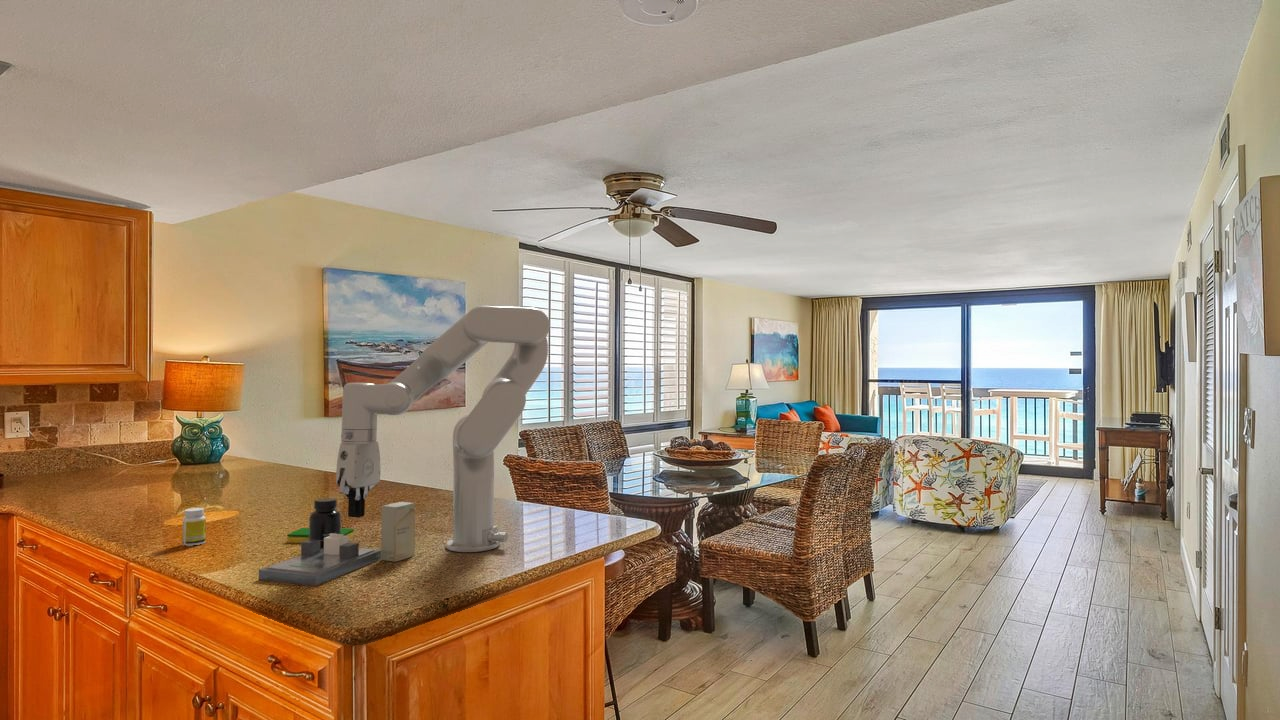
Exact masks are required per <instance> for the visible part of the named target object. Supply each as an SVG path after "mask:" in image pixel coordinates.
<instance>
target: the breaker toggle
mask: <svg viewBox="0 0 1280 720" xmlns="http://www.w3.org/2000/svg"><path fill="white" fill-rule="evenodd" d="M349 542H350V539H349V536H343V534H332V533H331V534H329V536H328V537H325V538H324V554H328V555H340V545H343V544H346V543H349Z"/></svg>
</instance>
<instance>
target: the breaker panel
mask: <svg viewBox="0 0 1280 720" xmlns="http://www.w3.org/2000/svg"><path fill="white" fill-rule="evenodd" d="M359 546H360V545H359V542H350V541H349V543H346V544H343V545H340V555H328V554H324V548H321V549H320V540H318V539H310V540H307V541H303V542H301V543H300V548H301V549H300V555H298V556H295V557H293V558H290V559H289V558H288V559H287V560H283V561H281V562H278V563H275V564H272V565H269V566H266V567H262V568H260V569H258V580H259V579H261V580H260V581H266V580H267V582H275V581H277V583H284V584H296V585H303V586H313V587H317V586H319V585H321V584H323V583H326V582H328V581H332V580H335V579H337V578H338V577H341V576H343V575H345V574H348V573H351V572H353V571H356V570H358V569H360V568H363V567H366V566H369V565H371V564H372V563H375V562H377V561H380V560H381V549H375V548H374V549H371V548H363V547H362V548H360V547H359Z"/></svg>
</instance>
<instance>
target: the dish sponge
mask: <svg viewBox="0 0 1280 720" xmlns="http://www.w3.org/2000/svg"><path fill="white" fill-rule="evenodd" d="M341 534H343V536H349V540H350V539H353V538H354V537H355V528H342V527H341ZM286 536H287V537H286V543H287V544H289V543H292V544H293V543H294V544H295V543H297V544H298V543H300V544H301V542H303V541H307V540H309V527H301V528H298V529H296V530H294V531H291V532H290V533H287V535H286Z"/></svg>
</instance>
